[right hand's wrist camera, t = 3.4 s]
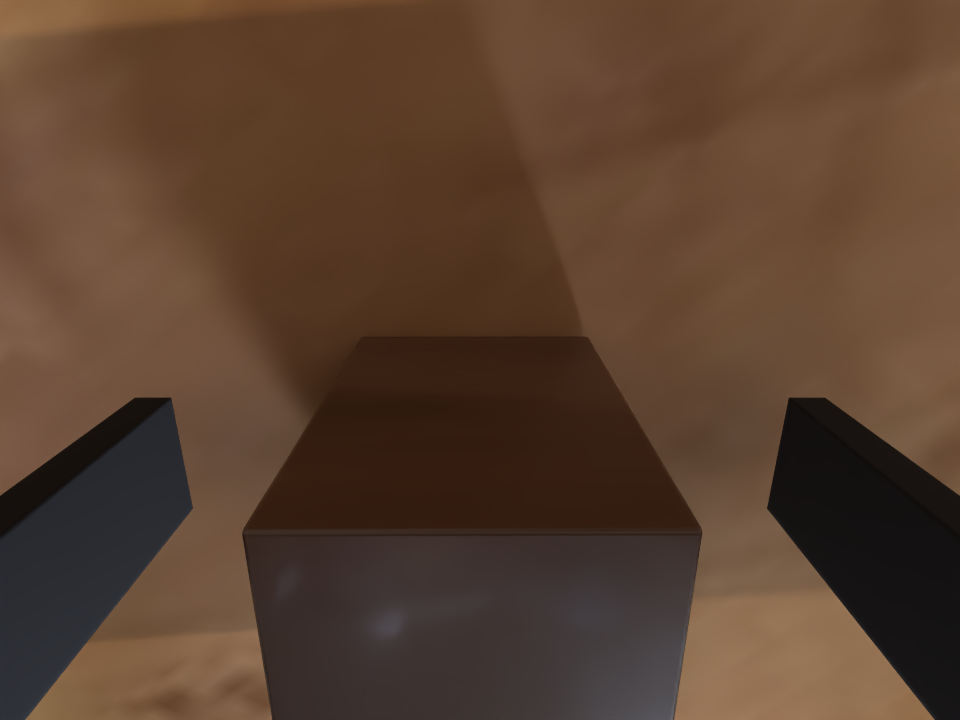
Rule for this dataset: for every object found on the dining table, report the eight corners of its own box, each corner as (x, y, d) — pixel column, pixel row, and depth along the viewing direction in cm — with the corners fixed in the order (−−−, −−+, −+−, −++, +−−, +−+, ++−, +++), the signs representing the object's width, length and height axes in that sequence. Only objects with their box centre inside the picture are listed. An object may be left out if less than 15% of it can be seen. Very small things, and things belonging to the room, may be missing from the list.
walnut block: (576, 528, 15) (658, 840, 8) (374, 528, 15) (289, 842, 8) (588, 335, 13) (706, 529, 6) (360, 336, 13) (238, 531, 6)
